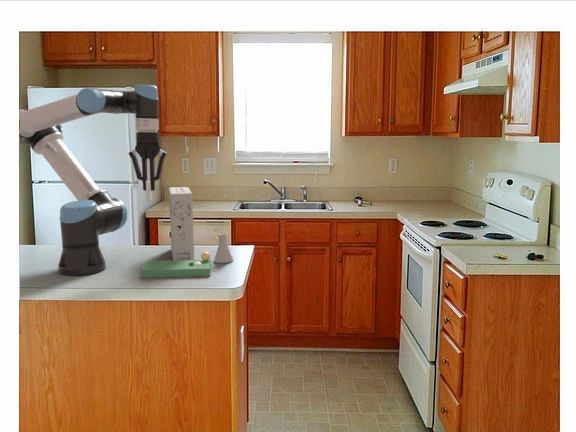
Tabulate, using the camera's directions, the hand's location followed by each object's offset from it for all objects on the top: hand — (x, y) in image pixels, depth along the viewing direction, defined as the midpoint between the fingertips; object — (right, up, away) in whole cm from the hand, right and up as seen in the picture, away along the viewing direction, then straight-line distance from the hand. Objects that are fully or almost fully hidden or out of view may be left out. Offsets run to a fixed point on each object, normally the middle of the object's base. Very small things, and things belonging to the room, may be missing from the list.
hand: (149, 199), depth 184 cm
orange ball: (+20, -20, -1) cm, 28 cm away
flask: (+25, -22, +9) cm, 35 cm away
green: (+11, -25, -5) cm, 27 cm away
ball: (+18, -23, -5) cm, 29 cm away
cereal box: (+8, -21, +19) cm, 29 cm away
